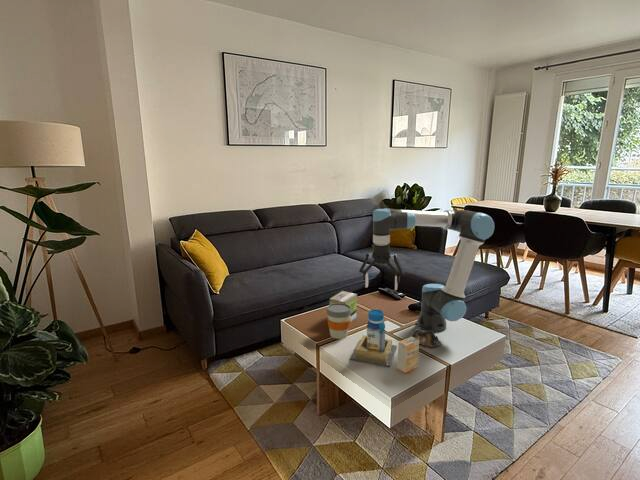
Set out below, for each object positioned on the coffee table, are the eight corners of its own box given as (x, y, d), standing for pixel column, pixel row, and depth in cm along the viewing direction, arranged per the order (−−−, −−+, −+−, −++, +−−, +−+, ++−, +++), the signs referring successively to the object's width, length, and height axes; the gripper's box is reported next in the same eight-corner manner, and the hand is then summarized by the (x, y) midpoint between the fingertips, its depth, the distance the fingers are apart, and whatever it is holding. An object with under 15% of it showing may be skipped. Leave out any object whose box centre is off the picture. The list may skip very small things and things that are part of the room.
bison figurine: (410, 340, 178) (415, 349, 168) (411, 327, 177) (415, 335, 167) (434, 340, 178) (440, 350, 168) (435, 327, 177) (441, 336, 167)
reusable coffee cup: (325, 339, 179) (325, 312, 176) (328, 328, 191) (328, 302, 188) (350, 341, 177) (350, 313, 174) (351, 329, 189) (352, 303, 186)
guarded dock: (396, 347, 171) (396, 338, 170) (390, 367, 154) (390, 357, 153) (360, 341, 177) (360, 332, 176) (349, 359, 161) (350, 350, 160)
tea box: (344, 327, 192) (344, 302, 189) (328, 323, 197) (328, 298, 194) (357, 317, 204) (357, 293, 201) (341, 313, 209) (341, 290, 206)
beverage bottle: (388, 355, 162) (388, 314, 157) (371, 358, 160) (370, 317, 155) (380, 346, 170) (380, 307, 165) (364, 349, 168) (363, 309, 163)
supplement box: (405, 374, 149) (406, 345, 147) (396, 369, 153) (397, 341, 150) (418, 367, 154) (419, 339, 151) (409, 362, 158) (410, 335, 155)
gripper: (410, 242, 160) (409, 287, 165) (356, 240, 168) (356, 283, 173) (408, 246, 153) (407, 293, 158) (352, 244, 162) (353, 288, 166)
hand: (381, 288), depth 166 cm, fingers open, 13 cm apart
